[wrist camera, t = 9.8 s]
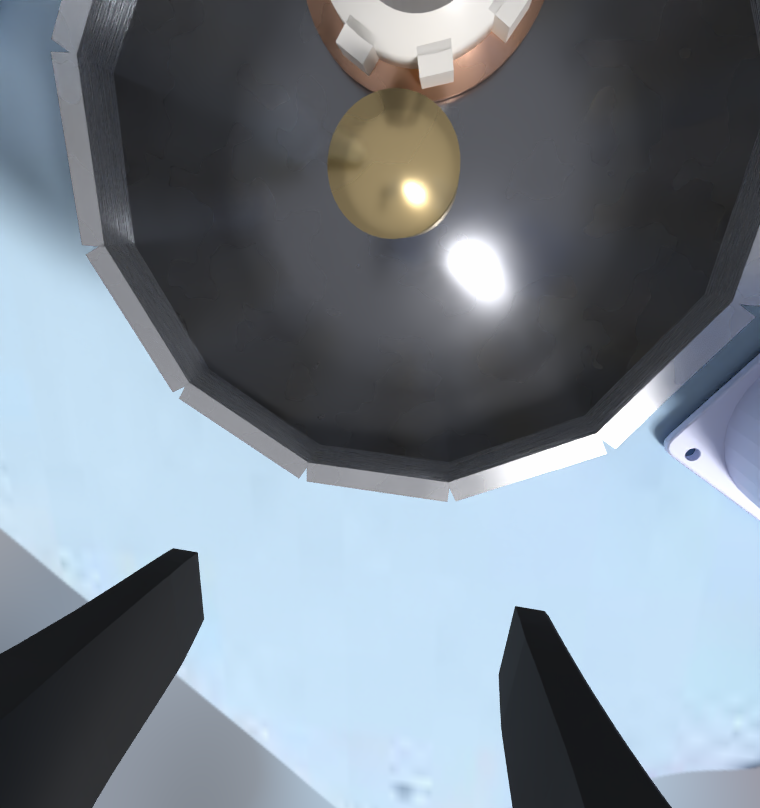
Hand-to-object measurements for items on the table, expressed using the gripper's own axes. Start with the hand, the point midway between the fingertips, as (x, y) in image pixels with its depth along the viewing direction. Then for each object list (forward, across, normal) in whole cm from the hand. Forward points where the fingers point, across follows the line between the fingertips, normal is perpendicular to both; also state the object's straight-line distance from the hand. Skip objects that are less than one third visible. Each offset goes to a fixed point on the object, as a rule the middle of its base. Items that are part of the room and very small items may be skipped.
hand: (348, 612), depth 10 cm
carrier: (+9, 0, -9) cm, 13 cm away
